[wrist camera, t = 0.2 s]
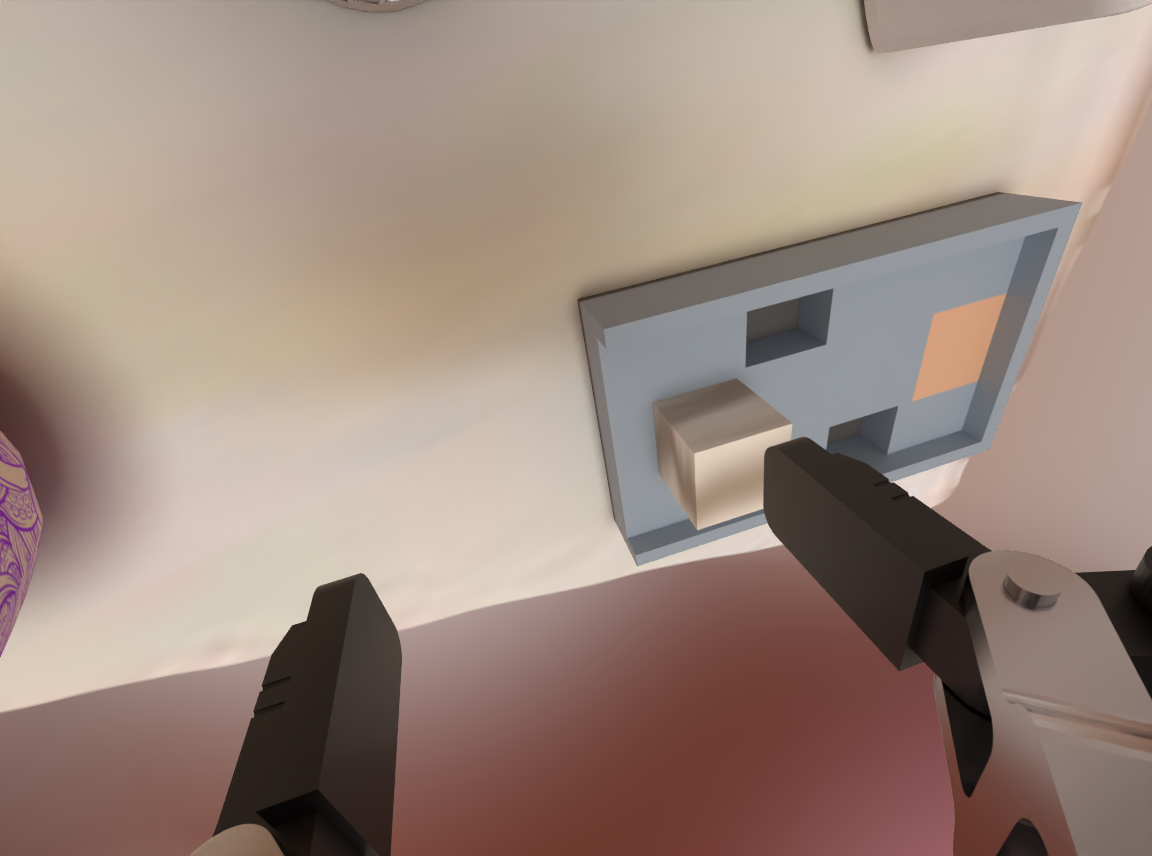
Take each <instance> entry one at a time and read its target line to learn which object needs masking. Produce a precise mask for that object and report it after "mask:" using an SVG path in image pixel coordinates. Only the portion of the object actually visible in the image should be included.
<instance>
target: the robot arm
mask: <svg viewBox="0 0 1152 856" xmlns="http://www.w3.org/2000/svg"><path fill="white" fill-rule="evenodd" d="M328 1H330V2H332V3H334V4H337V5H339V6H343V7H348V8H352V9H357V10H361V11H366V12H381V11H397V10H400V9H403V8H406V7H410V6H413V5H416V4H419V3H421V2H423V1H424V0H328ZM763 508H764V514H765V517H766V520H767V522H768V525H769V527H770V528H771V530H772V532H773V533H774V534H775V536H776V537H777V538H778V539H779V540H780V541H781V542H782V543H783V544H784V546H785V547H786V548H787V549H788V550H789V551H790V552H791V553H792V554H793V555H794V556H795V558H796V559H797V560H798V561H799V562H800V563H801V564H802V565H803V566H804V567H805V568H806V570H807V571H808V572H809V573H810V574H811V575H812V576H813V577H814V578H815V579H816V580H817V582H818V583H819V584H820V585H821V586H822V587H823V588H824V589H825V590H826V592H827V593H828V594H829V595H830V596H831V597H832V598H833V599H834V600H835V601H836V602H837V604H838V605H839V606H840V607H841V608H842V609H843V610H844V611H845V612H846V613H847V615H848V616H849V617H850V618H851V619H852V620H853V621H854V622H855V623H856V624H857V626H858V627H859V628H860V629H861V630H862V631H863V632H864V633H865V634H866V635H867V636H868V638H869V639H870V640H871V641H872V642H873V643H874V644H875V645H876V646H877V647H878V648H879V650H880V651H881V652H882V653H883V654H884V655H885V656H886V657H887V658H888V660H889V661H890V662H891V663H892V664H893V665H894V666H895V667H896V668H897V669H898V670H899V671H901V670H904V669H906V668H909V667H911V666H914V665H917V664H919V663H922V662H925V663H926V664H927V666H929V668H930V669H931V670H932V671H933V672H934V673H935V676H934V682H933V683H934V692H935V698H936V704H937V709H938V715H939V721H940V726H941V732H942V738H943V744H944V749H945V755H946V761H947V767H948V772H949V778H950V784H951V789H952V795H953V801H954V813H955V822H954V833H953V856H1152V546H1151V547H1150V548H1149V549H1148V550H1147V551H1146V553H1145V555H1144V557H1143V558H1142V560H1141V562H1140V564H1139V565H1138V567H1137V569H1136V570H1127V571H1105V572H1086V573H1085V572H1083V573H1074V572H1072V571H1071V570H1069V569H1068V568H1066V567H1064V566H1062V565H1060V564H1058V563H1056V562H1054V561H1051V560H1049V559H1046V558H1043V557H1040V556H1038V555H1034V554H1030V553H1025V552H1020V551H1010V550H998V551H991V550H989V549H988V548H986V547H985V546H983V545H982V544H981V543H979V542H978V541H976V540H975V539H973V538H972V537H971V536H969V535H968V534H966V533H965V532H964V531H962V530H961V529H959V528H957V527H956V526H955V525H954V524H952V523H951V522H949V521H948V520H946V519H945V518H943V517H942V516H941V515H939V514H938V513H936V512H935V511H934V510H932V509H931V508H929V507H928V506H926V505H925V504H924V503H922V502H921V501H919V500H918V499H916V498H915V497H914V496H911V497H910V496H909V495H908V492H906V491H905V490H904V489H902V488H901V487H899V486H898V485H897V484H895V483H894V482H893V483H890V482H889V479H888V478H887V477H885V476H884V475H882V474H881V473H879V472H878V471H877V470H875V469H874V468H872V467H871V466H869V465H868V464H867V463H864V462H861V461H859V460H856V459H853V458H851V457H848V456H845V455H843V454H840V453H835V454H830V453H829V452H828V451H826V450H825V449H824V448H822V447H821V446H820V445H818V444H817V443H816V442H814V441H813V440H811V439H810V438H807V437H800V438H797V439H793V440H790V441H787V442H784V443H781V444H777V445H774V446H771V447H769V448H767V449H766V451H765V454H764V488H763ZM401 666H402V652H401V645H400V640H399V636H398V633H397V630H396V627H395V625H394V623H393V622H392V620H391V618H390V616H389V614H388V613H387V611H386V609H385V607H384V606H383V604H382V602H381V600H380V599H379V597H378V595H377V593H376V591H375V590H374V588H373V586H372V584H371V583H370V581H369V579H368V578H367V577H366V576H365V575H364V574H362V573H360V574H356V575H353V576H350V577H347V578H344V579H340V580H337V581H334V582H331V583H328V584H324V585H321V586H319V587H317V589H316V590H315V592H314V595H313V598H312V602H311V606H310V610H309V613H308V617H307V621H305V622H302V623H299V624H295V625H292V627H291V628H290V629H289V631H288V632H287V634H286V635H285V637H284V638H283V639H282V641H281V642H280V644H279V645H278V647H277V648H276V650H275V651H274V652H273V654H272V655H271V659H270V662H269V665H268V668H267V671H266V674H265V677H264V681H263V684H262V687H263V691H261V692H260V693H259V696H258V699H257V702H256V705H255V708H254V718H252V719H251V721H250V724H249V727H248V730H247V733H246V737H245V740H244V743H243V746H242V749H241V752H240V755H239V758H238V761H237V765H236V768H235V771H234V774H233V777H232V780H231V783H230V787H229V790H228V793H227V796H226V799H225V802H224V805H223V809H222V811H221V815H220V818H219V821H218V824H217V826H216V829H215V832H214V834H213V836H212V838H211V839H209V840H208V841H207V842H205V843H204V844H203V845H201V846H200V847H199V848H198V849H197V850H196V851H194V852H193V853H192V854H191V855H190V856H390V854H391V837H392V836H391V835H392V820H393V803H394V785H395V769H396V752H397V733H398V717H399V699H400V681H401Z"/></svg>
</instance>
